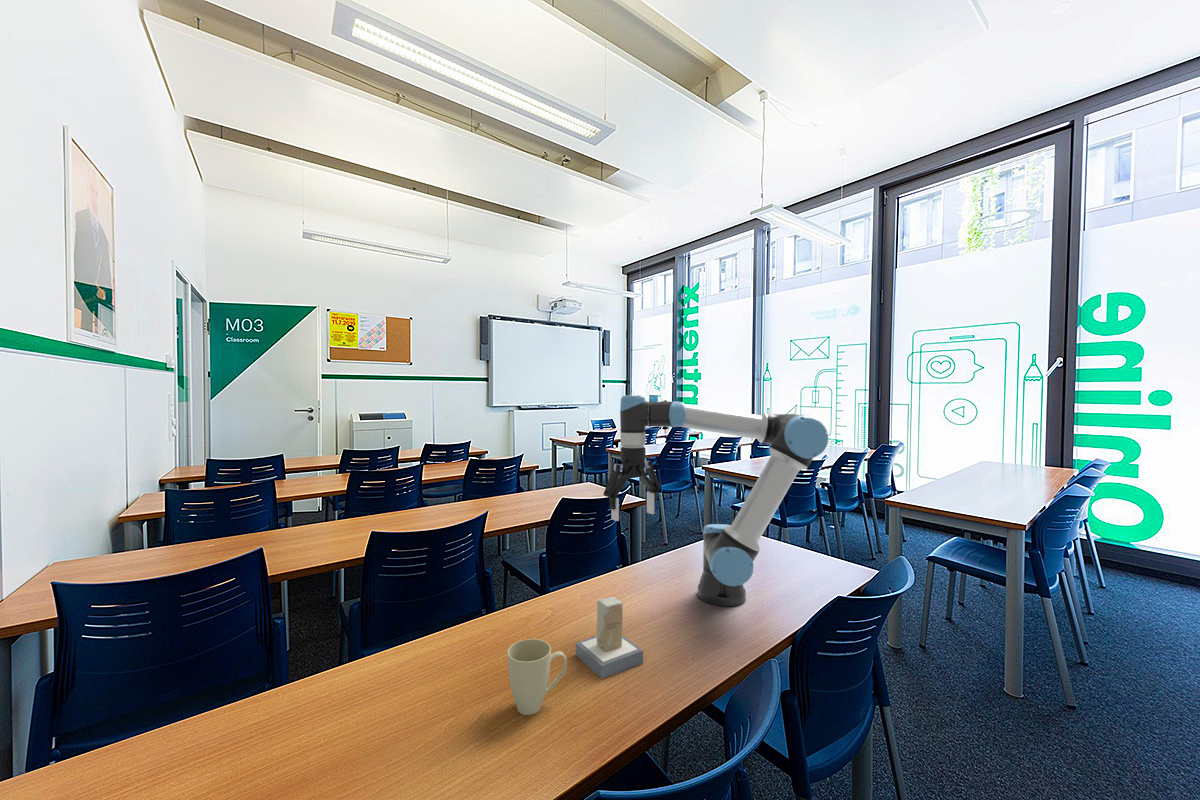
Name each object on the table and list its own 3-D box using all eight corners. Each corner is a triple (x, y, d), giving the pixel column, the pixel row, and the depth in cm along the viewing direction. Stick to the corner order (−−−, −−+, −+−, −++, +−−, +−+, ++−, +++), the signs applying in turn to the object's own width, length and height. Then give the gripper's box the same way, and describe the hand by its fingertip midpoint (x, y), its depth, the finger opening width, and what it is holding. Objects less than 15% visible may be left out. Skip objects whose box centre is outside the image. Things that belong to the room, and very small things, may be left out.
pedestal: (614, 641, 124) (614, 629, 124) (643, 662, 114) (643, 649, 113) (575, 654, 117) (575, 642, 117) (601, 678, 107) (601, 665, 107)
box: (604, 652, 112) (604, 606, 112) (595, 644, 116) (596, 599, 116) (623, 646, 115) (623, 601, 115) (614, 638, 119) (614, 595, 119)
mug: (535, 730, 90) (535, 668, 90) (498, 711, 96) (498, 653, 96) (568, 699, 100) (568, 643, 100) (532, 684, 105) (532, 631, 105)
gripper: (656, 442, 151) (656, 508, 151) (591, 448, 137) (592, 520, 137) (672, 444, 145) (672, 513, 145) (606, 450, 131) (606, 525, 131)
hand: (633, 516), depth 141 cm, fingers open, 13 cm apart
